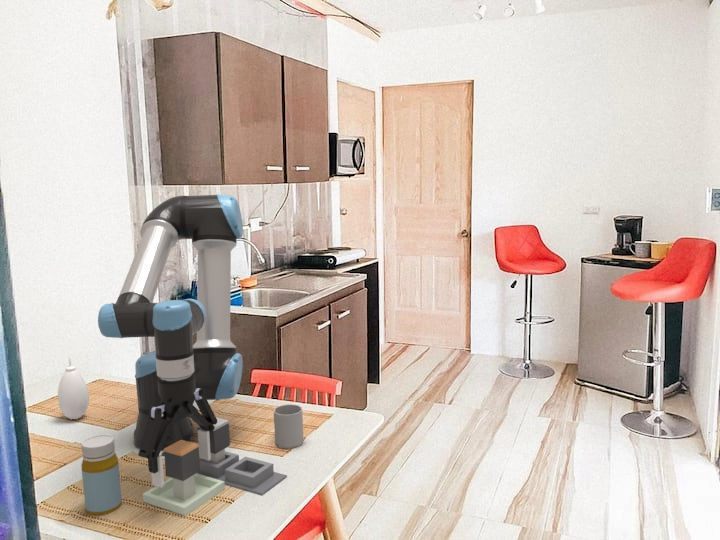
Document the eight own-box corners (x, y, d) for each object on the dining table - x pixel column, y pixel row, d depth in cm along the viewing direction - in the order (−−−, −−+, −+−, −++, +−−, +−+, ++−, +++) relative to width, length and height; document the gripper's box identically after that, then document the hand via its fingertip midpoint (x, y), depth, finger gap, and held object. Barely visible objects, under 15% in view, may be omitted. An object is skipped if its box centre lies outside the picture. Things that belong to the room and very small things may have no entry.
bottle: (92, 501, 134) (86, 434, 131) (126, 498, 134) (120, 433, 132) (81, 518, 127) (74, 449, 124) (116, 516, 127) (110, 447, 125)
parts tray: (143, 504, 132) (142, 494, 131) (184, 479, 142) (183, 469, 142) (185, 518, 126) (184, 508, 126) (225, 491, 136) (224, 481, 136)
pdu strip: (149, 464, 150) (145, 416, 148) (176, 449, 157) (173, 403, 156) (262, 497, 133) (259, 444, 131) (287, 479, 141) (284, 428, 139)
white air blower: (96, 414, 182) (90, 354, 179) (79, 424, 174) (73, 362, 171) (71, 412, 183) (65, 353, 180) (54, 423, 175) (48, 361, 172)
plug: (167, 497, 133) (163, 448, 131) (184, 487, 137) (181, 439, 136) (184, 503, 131) (181, 453, 129) (201, 492, 135) (198, 444, 133)
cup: (284, 451, 155) (283, 417, 154) (264, 438, 163) (262, 406, 161) (309, 443, 159) (307, 410, 158) (288, 431, 167) (286, 399, 166)
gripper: (141, 397, 117) (149, 502, 120) (230, 361, 139) (234, 452, 142) (114, 391, 121) (122, 493, 124) (204, 357, 142) (209, 445, 145)
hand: (182, 471), depth 133 cm, fingers open, 13 cm apart
